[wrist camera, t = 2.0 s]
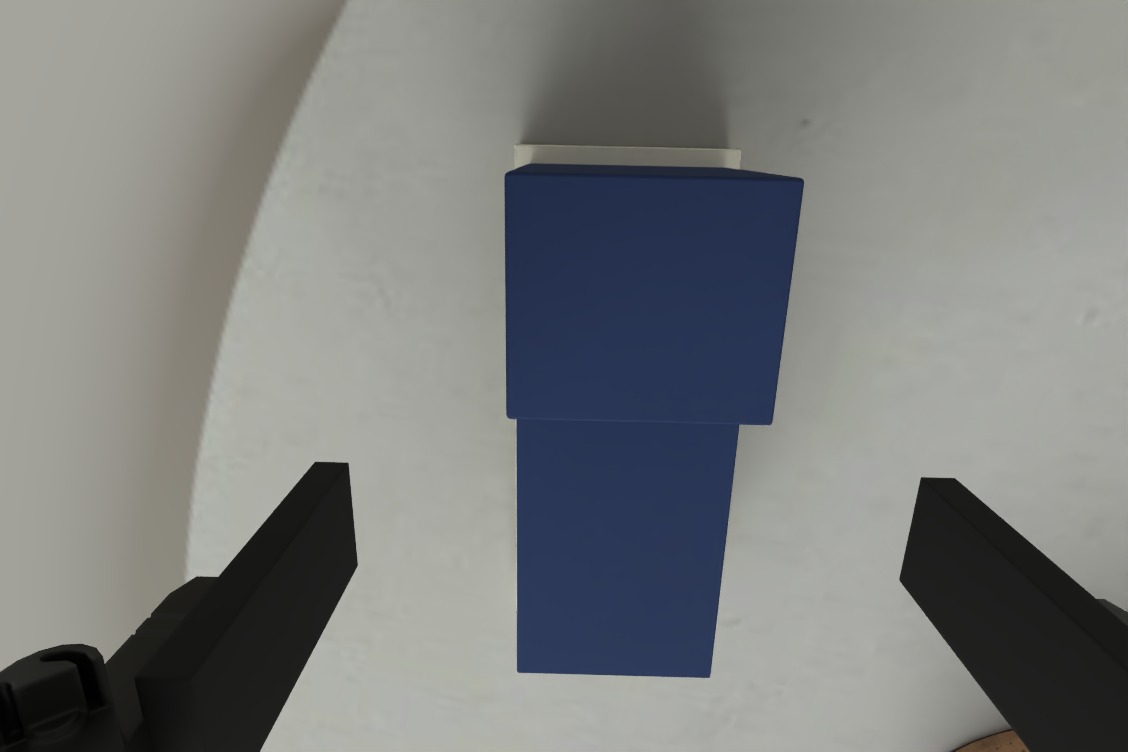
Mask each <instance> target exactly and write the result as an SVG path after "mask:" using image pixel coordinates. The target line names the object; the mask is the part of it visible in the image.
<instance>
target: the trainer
mask: <svg viewBox="0 0 1128 752" xmlns="http://www.w3.org/2000/svg"><path fill="white" fill-rule="evenodd" d="M740 160H741V149H711V148H665V147H619V146H573V145H527V144H516V145H515V170H512V171H509V172H507V173H506V174H505V287H506V409H507V417H508V418H510V419H516V613H517V671H518V672H519V673H553V674H589V675H624V676H660V677H696V678H710V673H711V665H712V656H713V647H714V639H715V630H716V621H717V613H718V604H719V596H720V587H721V578H722V570H723V561H724V552H725V544H726V535H727V526H728V518H729V509H730V500H731V492H732V483H733V474H734V466H735V457H736V448H737V440H738V431H739V424H743V425H771V424H772V421H773V413H774V406H775V398H776V390H777V383H778V375H779V368H780V360H781V353H782V345H783V338H784V330H785V323H786V315H787V308H788V300H789V293H790V285H791V278H792V270H793V263H794V255H795V248H796V240H797V233H798V225H799V218H800V210H801V203H802V195H803V187H804V181H803V179H801V178H797V177H789V176H782V175H775V174H767V173H761V172H754V171H747V170H740Z"/></svg>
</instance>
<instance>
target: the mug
mask: <svg viewBox="0 0 1128 752" xmlns="http://www.w3.org/2000/svg"><path fill="white" fill-rule="evenodd" d="M955 752H1030V751H1029V750H1028V749H1027V747H1026V746H1025V745H1024V743H1023V742H1022V741H1021V739H1020V738H1019V737H1018V735H1017V734H1016V733H1015V731H1014V730H1012V731H1008V732H1004V733H1000V734H996V735H993V736H990V737H987V738H984V739H981V740H978V741H976V742H973V743H971V744H969V745H967V746H965V747H963V748H960V749H958V750H957V751H955Z"/></svg>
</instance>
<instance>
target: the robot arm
mask: <svg viewBox="0 0 1128 752" xmlns="http://www.w3.org/2000/svg"><path fill="white" fill-rule="evenodd" d="M357 566H358V563H357V552H356V541H355V530H354V519H353V508H352V497H351V486H350V475H349V464H348V463H337V462H315V463H314V464H313V465H312V466H311V468H310V469H309V470H308V471H307V472H306V473H305V475H304V476H303V477H302V478H301V479H300V481H299V482H298V483H297V484H296V485H295V487H294V488H293V489H292V490H291V491H290V492H289V494H288V495H287V496H286V497H285V498H284V500H283V501H282V502H281V503H280V504H279V506H278V507H277V508H276V509H275V510H274V511H273V513H272V514H271V515H270V516H269V517H268V519H267V520H266V521H265V522H264V523H263V525H262V526H261V527H260V528H259V529H258V530H257V532H256V533H255V534H254V535H253V536H252V538H251V539H250V540H249V541H248V542H247V544H246V545H245V546H244V547H243V548H242V550H241V551H240V552H239V553H238V554H237V555H236V557H235V558H234V559H233V560H232V561H231V563H230V564H229V565H228V566H227V567H226V569H225V570H224V571H223V572H222V573H221V574H220V576H219V577H195V578H194V579H192V580H190V581H189V582H187V583H186V584H184V585H183V586H181V587H179V588H178V589H176V590H175V591H173V592H171V593H170V594H169V595H168V596H167V597H166V598H165V599H164V600H163V602H162V603H161V604H160V605H159V606H158V607H157V608H156V609H155V610H154V611H153V612H152V614H151V617H150V618H147V619H146V620H145V621H144V622H143V623H142V625H140V627H139V628H138V629H137V630H136V633H135V635H131V636H130V637H129V639H128V640H127V641H126V642H125V643H124V644H123V645H122V646H121V647H120V648H119V649H118V650H117V651H116V653H115V654H114V655H113V656H112V657H111V658H110V659H109V660H108V661H107V662H106V664H104V660H103V656H102V655H101V654H100V652H99V651H98V650H97V648H95V647H91V646H88V645H84V644H69V645H60V646H56V647H53V648H49V649H45V650H41V651H38V652H36V653H34V654H32V655H29V656H27V657H25V658H22V659H20V660H18V661H16V662H15V663H13V664H12V665H10V666H9V667H7V668H6V669H4V670H3V671H1V672H0V752H260V750H261V748H262V746H263V744H264V743H265V741H266V739H267V737H268V735H269V733H270V731H271V729H272V727H273V725H274V724H275V722H276V720H277V718H278V716H279V714H280V712H281V710H282V708H283V706H284V705H285V703H286V701H287V699H288V697H289V695H290V693H291V691H292V689H293V687H294V686H295V684H296V682H297V680H298V678H299V676H300V674H301V672H302V670H303V668H304V667H305V665H306V663H307V661H308V659H309V657H310V655H311V653H312V651H313V649H314V648H315V646H316V644H317V642H318V640H319V638H320V636H321V634H322V632H323V630H324V629H325V627H326V625H327V623H328V621H329V619H330V617H331V615H332V613H333V612H334V610H335V608H336V606H337V604H338V602H339V600H340V598H341V596H342V594H343V593H344V591H345V589H346V587H347V585H348V583H349V581H350V579H351V577H352V575H353V574H354V572H355V570H356V568H357ZM899 580H900V582H901V583H902V584H903V586H904V587H905V588H906V590H907V591H908V592H909V593H910V595H911V596H912V597H913V599H914V600H915V601H916V603H917V604H918V605H919V607H920V608H921V609H922V611H923V612H924V613H925V615H926V616H927V617H928V618H929V620H930V621H931V622H932V624H933V625H934V626H935V628H936V629H937V630H938V632H939V633H940V634H941V636H942V637H943V638H944V639H945V641H946V642H947V643H948V645H949V646H950V647H951V649H952V650H953V651H954V653H955V654H956V655H957V657H958V658H959V659H960V660H961V662H962V663H963V664H964V666H965V667H966V668H967V670H968V671H969V672H970V674H971V675H972V676H973V678H974V679H975V680H976V682H977V683H978V684H979V685H980V687H981V688H982V689H983V691H984V692H985V693H986V695H987V696H988V697H989V699H990V700H991V701H992V703H993V704H994V705H995V706H996V708H997V709H998V710H999V712H1000V713H1001V714H1002V716H1003V717H1004V718H1005V720H1006V721H1007V722H1008V724H1009V725H1010V726H1011V728H1012V729H1013V730H1014V731H1015V733H1016V734H1017V735H1018V737H1019V738H1020V739H1021V741H1022V742H1023V743H1024V745H1025V746H1026V747H1027V749H1028V750H1029V751H1030V752H1128V612H1126V611H1124V610H1123V609H1121V608H1119V607H1117V606H1115V605H1114V604H1112V603H1110V602H1108V601H1106V600H1105V599H1095V598H1094V597H1093V596H1092V595H1091V594H1090V593H1088V592H1087V591H1086V590H1085V589H1084V588H1083V587H1081V586H1080V585H1079V584H1078V583H1077V582H1076V581H1074V580H1073V579H1072V578H1071V577H1070V576H1069V575H1067V574H1066V573H1065V572H1064V571H1063V570H1062V569H1060V568H1059V567H1058V566H1057V565H1056V564H1055V563H1053V562H1052V561H1051V560H1050V559H1049V558H1047V557H1046V556H1045V555H1044V554H1043V553H1042V552H1040V551H1039V550H1038V549H1037V548H1036V547H1035V546H1033V545H1032V544H1031V543H1030V542H1029V541H1028V540H1026V539H1025V538H1024V537H1023V536H1022V535H1021V534H1019V533H1018V532H1017V531H1016V530H1015V529H1014V528H1012V527H1011V526H1010V525H1009V524H1008V523H1007V522H1005V521H1004V520H1003V519H1002V518H1001V517H999V516H998V515H997V514H996V513H995V512H994V511H992V510H991V509H990V508H989V507H988V506H987V505H985V504H984V503H983V502H982V501H981V500H980V499H978V498H977V497H976V496H975V495H974V494H973V493H971V492H970V491H969V490H968V489H967V488H966V487H964V486H963V485H962V484H961V483H960V482H959V481H957V480H956V479H955V478H924V477H921V480H920V485H919V490H918V494H917V499H916V504H915V508H914V513H913V518H912V523H911V527H910V532H909V537H908V541H907V546H906V551H905V555H904V560H903V565H902V570H901V574H900V579H899Z"/></svg>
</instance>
